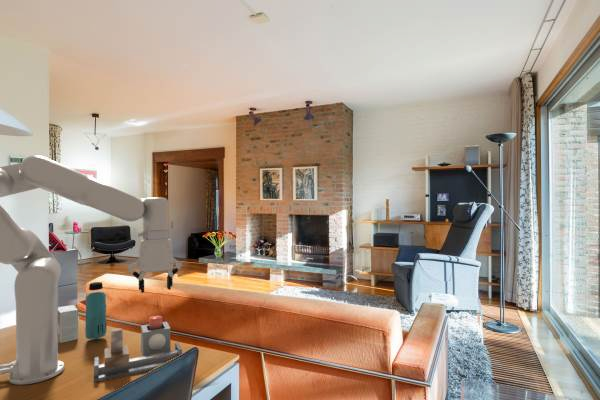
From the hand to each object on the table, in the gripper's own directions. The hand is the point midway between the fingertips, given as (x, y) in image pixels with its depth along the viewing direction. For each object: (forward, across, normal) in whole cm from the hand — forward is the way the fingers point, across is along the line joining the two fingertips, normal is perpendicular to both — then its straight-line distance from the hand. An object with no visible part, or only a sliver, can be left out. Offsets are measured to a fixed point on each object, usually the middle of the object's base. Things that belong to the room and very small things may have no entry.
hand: (155, 290), depth 115 cm
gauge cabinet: (+20, 0, 0) cm, 20 cm away
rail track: (+20, -6, -9) cm, 23 cm away
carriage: (+17, -12, -9) cm, 23 cm away
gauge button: (+12, 0, 0) cm, 12 cm away
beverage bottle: (+20, -17, +20) cm, 33 cm away
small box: (+20, -26, +27) cm, 43 cm away
